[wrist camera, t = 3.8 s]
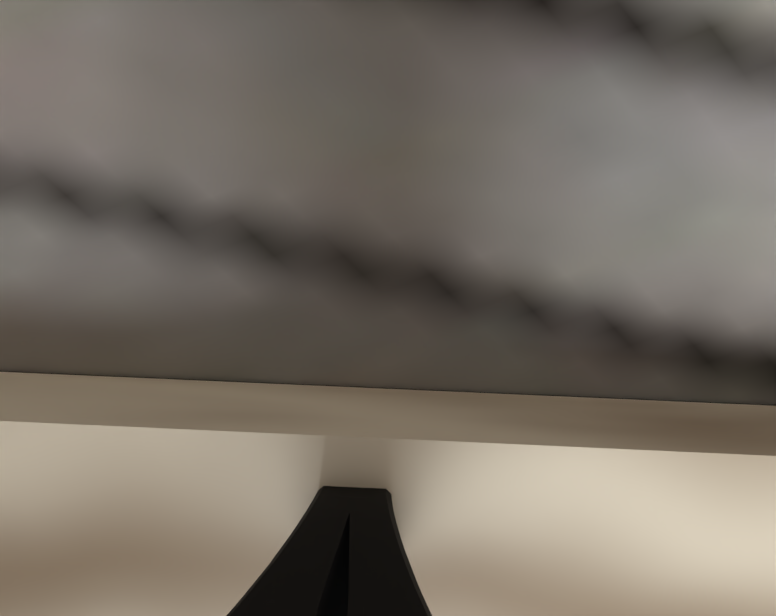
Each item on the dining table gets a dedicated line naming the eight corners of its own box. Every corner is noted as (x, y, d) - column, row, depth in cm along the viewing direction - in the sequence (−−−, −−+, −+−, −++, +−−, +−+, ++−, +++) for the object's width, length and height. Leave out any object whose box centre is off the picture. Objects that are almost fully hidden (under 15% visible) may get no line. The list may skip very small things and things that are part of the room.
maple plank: (806, 681, 13) (874, 770, 11) (-91, 636, 14) (-170, 715, 12) (911, 411, 11) (1018, 467, 9) (-179, 363, 11) (-297, 407, 9)
